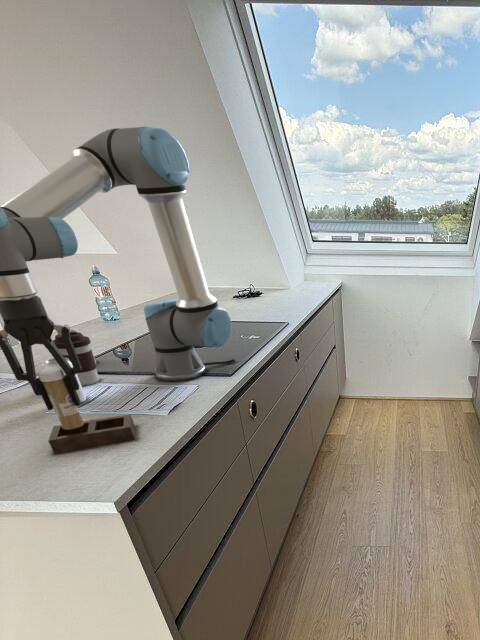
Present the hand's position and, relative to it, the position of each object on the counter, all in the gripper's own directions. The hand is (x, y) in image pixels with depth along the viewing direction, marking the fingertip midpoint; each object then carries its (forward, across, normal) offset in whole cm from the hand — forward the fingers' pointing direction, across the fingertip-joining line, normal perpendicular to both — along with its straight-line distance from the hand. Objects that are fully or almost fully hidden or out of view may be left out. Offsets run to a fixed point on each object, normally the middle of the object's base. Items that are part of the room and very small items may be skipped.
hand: (64, 405), depth 104 cm
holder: (+9, -3, 0) cm, 10 cm away
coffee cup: (+10, +2, -50) cm, 51 cm away
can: (+10, +4, -32) cm, 33 cm away
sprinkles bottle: (+5, 0, 0) cm, 5 cm away
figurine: (+10, +4, -73) cm, 74 cm away
